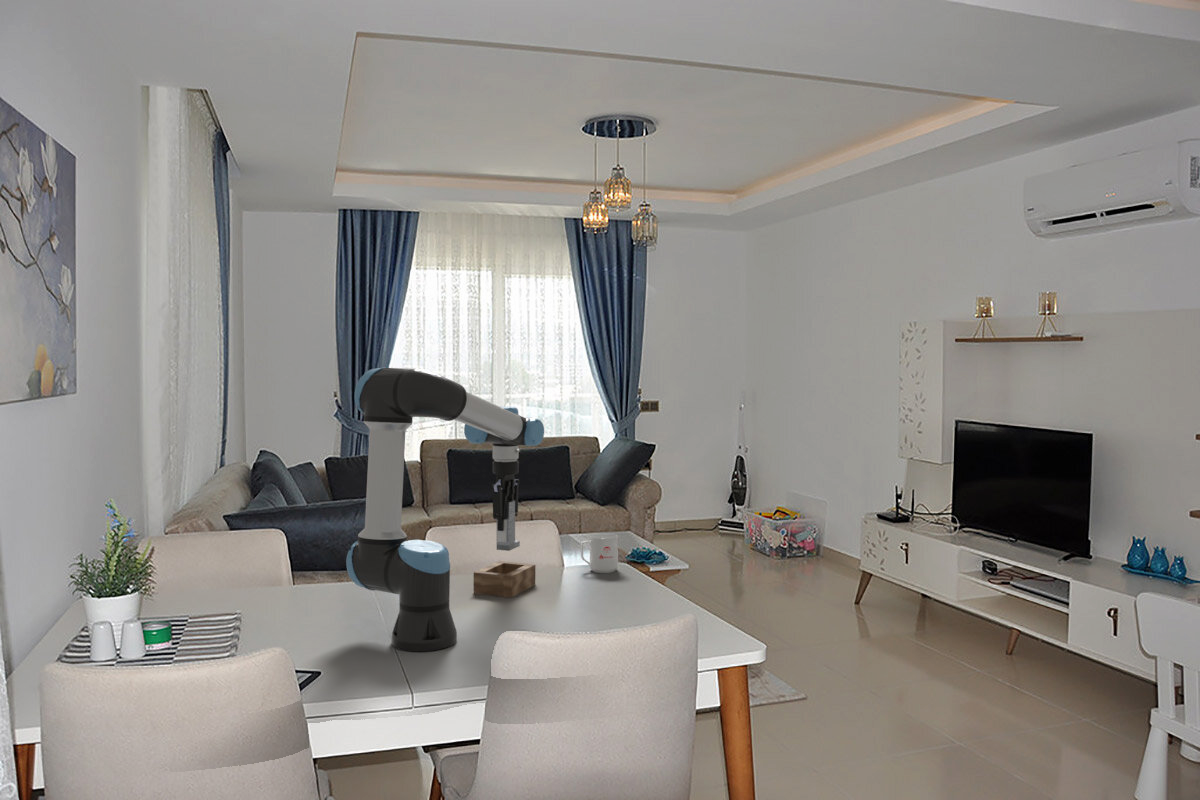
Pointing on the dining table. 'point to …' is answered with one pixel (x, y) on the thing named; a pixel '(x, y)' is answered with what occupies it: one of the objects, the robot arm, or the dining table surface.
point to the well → (504, 579)
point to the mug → (602, 552)
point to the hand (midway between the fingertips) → (505, 539)
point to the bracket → (509, 528)
